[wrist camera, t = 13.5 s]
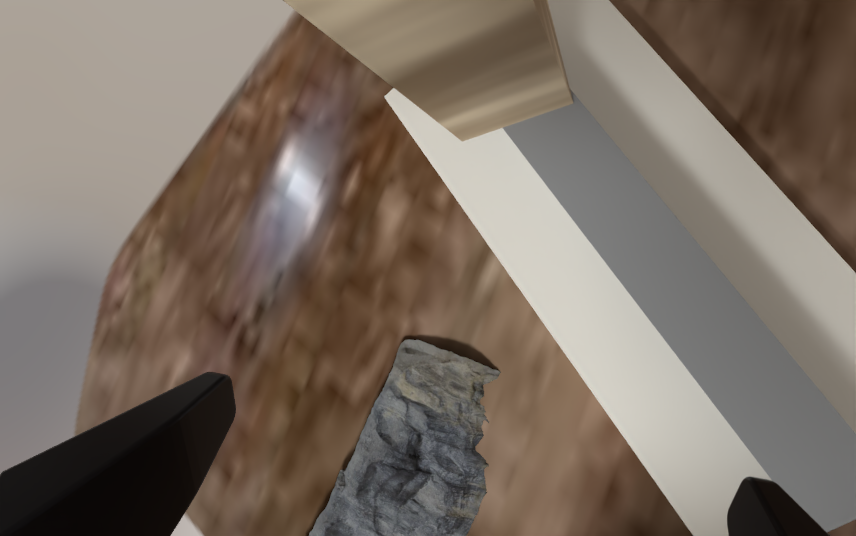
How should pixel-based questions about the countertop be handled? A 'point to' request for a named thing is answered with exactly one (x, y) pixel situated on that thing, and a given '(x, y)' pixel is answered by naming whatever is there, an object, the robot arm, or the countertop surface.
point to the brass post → (454, 55)
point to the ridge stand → (669, 276)
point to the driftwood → (416, 452)
